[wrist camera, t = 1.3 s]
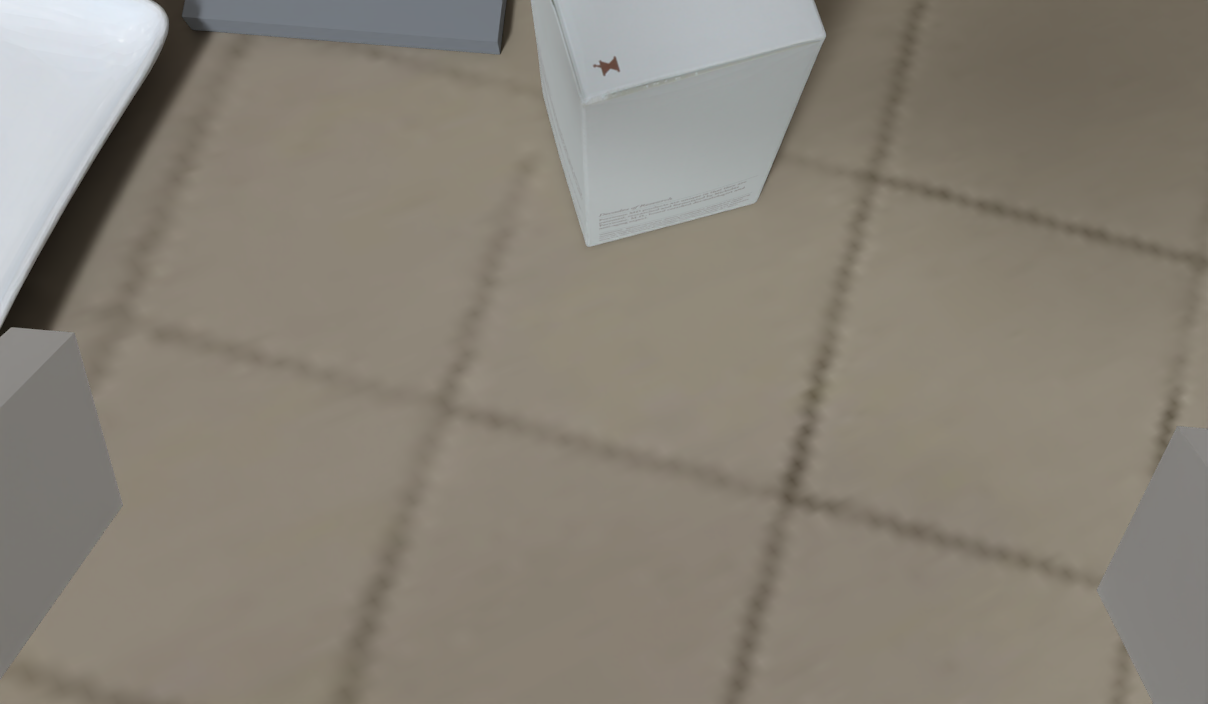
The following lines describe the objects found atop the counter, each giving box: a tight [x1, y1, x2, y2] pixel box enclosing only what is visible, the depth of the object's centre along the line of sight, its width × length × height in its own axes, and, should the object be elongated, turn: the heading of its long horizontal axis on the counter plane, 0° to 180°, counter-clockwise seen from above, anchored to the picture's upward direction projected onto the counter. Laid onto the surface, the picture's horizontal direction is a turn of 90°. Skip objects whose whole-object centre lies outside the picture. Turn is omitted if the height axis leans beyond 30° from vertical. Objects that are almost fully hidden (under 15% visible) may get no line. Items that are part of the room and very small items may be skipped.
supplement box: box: [531, 0, 826, 247], centre depth 33 cm, size 7×7×13 cm
